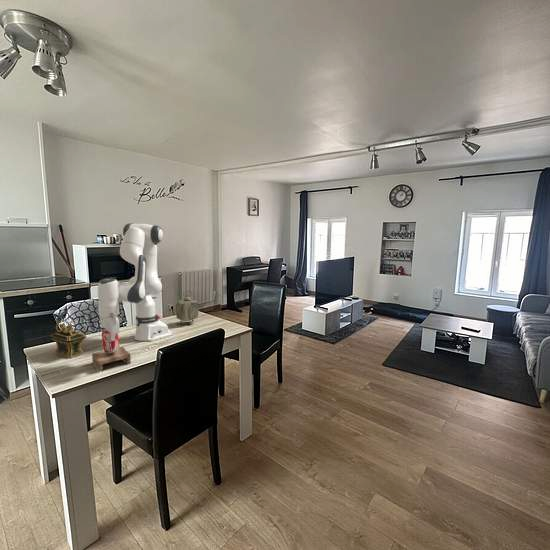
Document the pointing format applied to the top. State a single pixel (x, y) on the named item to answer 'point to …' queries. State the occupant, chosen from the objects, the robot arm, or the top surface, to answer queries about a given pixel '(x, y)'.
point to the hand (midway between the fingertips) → (110, 338)
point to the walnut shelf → (110, 357)
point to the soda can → (109, 342)
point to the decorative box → (68, 341)
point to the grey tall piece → (187, 309)
